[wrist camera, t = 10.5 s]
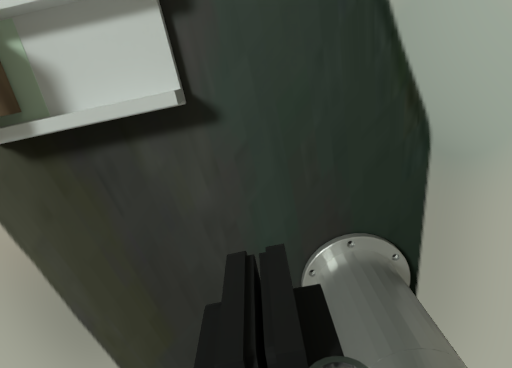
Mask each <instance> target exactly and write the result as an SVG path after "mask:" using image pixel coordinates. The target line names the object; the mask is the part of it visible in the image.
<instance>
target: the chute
mask: <svg viewBox="0 0 512 368" xmlns="http://www.w3.org/2000/svg"><path fill="white" fill-rule="evenodd" d="M0 61H1V64H2V66H3V68H4V71H5V73H6V76H7V78H8V80H9V83H10V85H11V88H12V90H13V92H14V95H15V97H16V99H17V102H18V104H19V107H20V109H21V111H22V112H20V113H15V114H11V115H6V116H1V117H0V144H3V143H7V142H12V141H17V140H21V139H26V138H31V137H35V136H40V135H45V134H49V133H54V132H58V131H63V130H68V129H72V128H77V127H82V126H86V125H91V124H96V123H100V122H105V121H109V120H114V119H119V118H123V117H128V116H133V115H137V114H142V113H147V112H151V111H156V110H160V109H165V108H170V107H174V106H179V105H184V104H186V100H185V96H184V92H183V88H182V85H181V81H180V77H179V73H178V69H177V66H176V62H175V58H174V54H173V51H172V47H171V43H170V39H169V36H168V32H167V28H166V24H165V21H164V17H163V13H162V9H161V6H160V2H159V0H0Z"/></svg>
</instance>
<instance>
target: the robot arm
mask: <svg viewBox="0 0 512 368" xmlns="http://www.w3.org/2000/svg"><path fill="white" fill-rule="evenodd" d="M349 241H350V242H349ZM259 258H260V276H261V281H260V277H259V273H258V269H257V264H256V260H255V256H254V255H249V256H248V255H247V252H246V251H243V252H238V253H233V254H228V255H227V259H226V267H225V276H224V285H223V293H222V302H219V303H214V304H208V305H206V306H205V310H204V315H203V320H202V326H201V331H200V337H199V342H198V348H197V353H196V359H195V364H194V368H467V367H466V365H465V364H464V362H463V361H462V360H461V358H460V357H459V356H458V354H457V353H456V351H455V350H454V349H453V347H452V346H451V345H450V343H449V342H448V340H447V339H446V338H445V336H444V335H443V333H442V332H441V331H440V329H439V328H438V327H437V325H436V324H435V322H434V321H433V320H432V318H431V317H430V315H429V314H428V313H427V311H426V310H425V309H424V307H423V306H422V304H421V303H420V302H419V300H418V299H417V297H416V296H415V295H414V293H413V292H412V291H411V289H410V288H409V286H410V270H409V266H408V264H407V261H406V259H405V257H404V256H403V255H402V253H401V252H400V251H399V250H398V249H397V248H396V247H395V246H394V245H393V244H392V243H390V242H389V241H387V240H386V239H384V238H381V237H379V236H376V235H372V234H367V233H354V234H348V235H343V236H340V237H337V238H335V239H333V240H331V241H329V242H327V243H325V244H324V245H323V246H321V247H320V248H319V249H317V251H316V252H315V253H314V254H313V255H312V256H311V257H310V259H309V261H308V262H307V264H306V266H305V268H304V271H303V274H302V281H301V284H302V287H299V288H294V289H293V286H292V281H291V276H290V271H289V266H288V261H287V257H286V252H285V247H284V244H279V245H274V246H269V247H266V252H264V253H259Z"/></svg>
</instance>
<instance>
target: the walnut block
mask: <svg viewBox="0 0 512 368" xmlns="http://www.w3.org/2000/svg"><path fill="white" fill-rule="evenodd" d="M20 112H22V111H21V109H20V107H19V104H18V102H17V99H16V97H15V95H14V92H13V90H12V88H11V85H10V83H9V80H8V78H7V76H6V73H5V71H4V68H3V66H2V64H1V61H0V117H1V116H6V115H11V114H15V113H20Z"/></svg>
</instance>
